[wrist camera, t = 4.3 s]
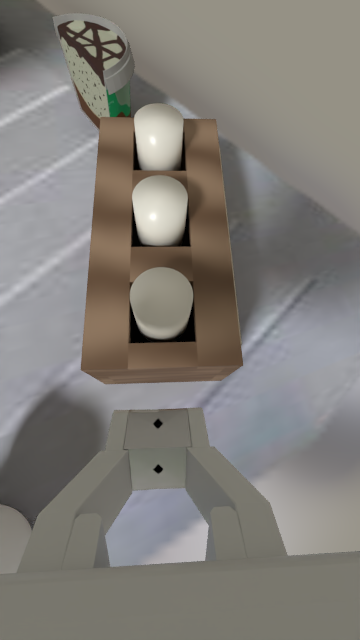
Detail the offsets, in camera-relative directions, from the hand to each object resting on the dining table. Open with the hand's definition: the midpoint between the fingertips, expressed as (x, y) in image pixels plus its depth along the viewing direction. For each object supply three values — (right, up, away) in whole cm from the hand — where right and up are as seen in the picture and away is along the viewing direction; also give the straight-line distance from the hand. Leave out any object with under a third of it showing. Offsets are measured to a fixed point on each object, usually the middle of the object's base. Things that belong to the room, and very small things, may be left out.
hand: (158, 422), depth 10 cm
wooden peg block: (-1, +9, +24) cm, 26 cm away
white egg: (-1, +4, +15) cm, 15 cm away
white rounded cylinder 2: (-1, +12, +17) cm, 21 cm away
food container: (-9, +33, +32) cm, 46 cm away
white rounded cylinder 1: (-1, +20, +20) cm, 28 cm away
